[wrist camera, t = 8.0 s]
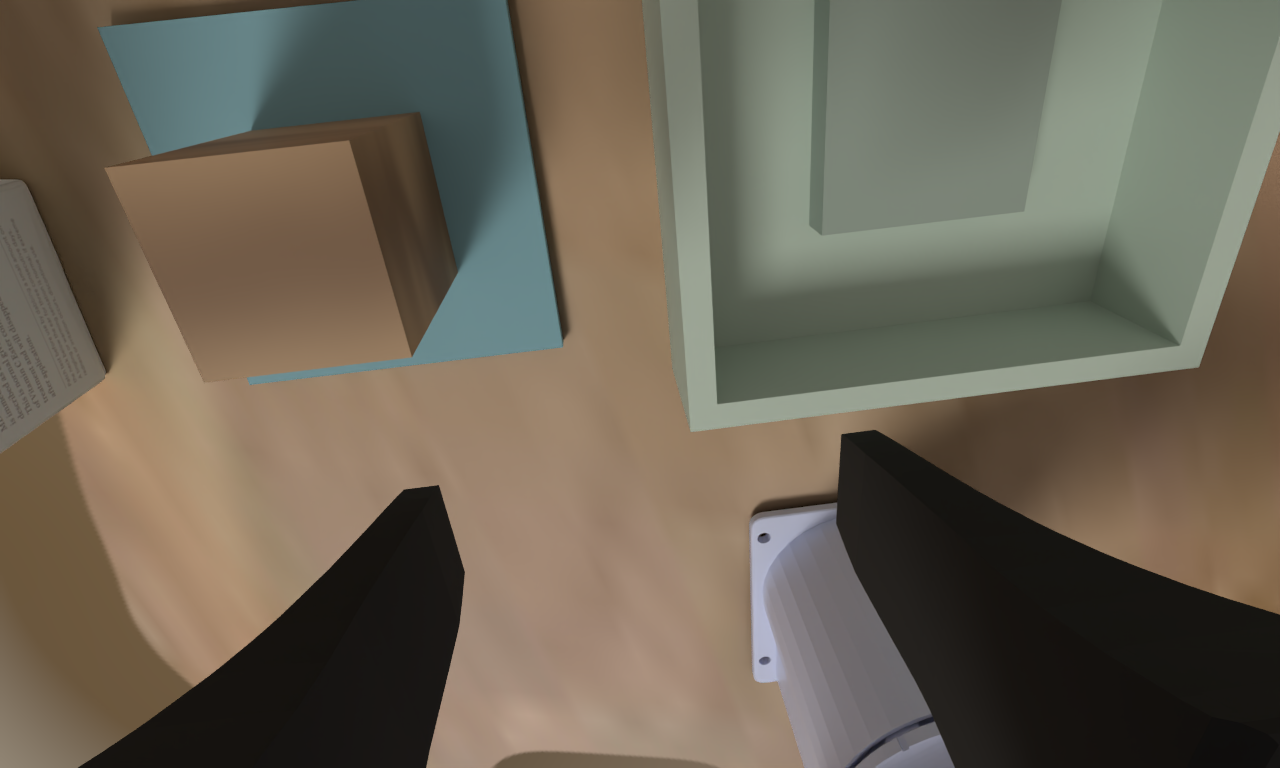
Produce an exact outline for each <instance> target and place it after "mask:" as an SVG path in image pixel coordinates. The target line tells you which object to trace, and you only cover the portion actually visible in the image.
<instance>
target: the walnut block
mask: <svg viewBox="0 0 1280 768" xmlns="http://www.w3.org/2000/svg"><path fill="white" fill-rule="evenodd" d="M104 169H105V171H106V173H107V175H108V177H109V179H110V181H111V184H112V186H113V188H114V190H115V192H116V194H117V196H118V199H119V201H120V203H121V205H122V207H123V209H124V211H125V214H126V216H127V218H128V220H129V222H130V224H131V226H132V229H133V231H134V233H135V235H136V237H137V239H138V242H139V244H140V246H141V248H142V250H143V252H144V254H145V257H146V259H147V261H148V263H149V265H150V267H151V269H152V272H153V274H154V276H155V278H156V280H157V282H158V284H159V287H160V289H161V291H162V293H163V295H164V297H165V299H166V302H167V304H168V306H169V308H170V310H171V312H172V314H173V317H174V319H175V321H176V323H177V325H178V327H179V329H180V332H181V334H182V336H183V338H184V340H185V342H186V344H187V347H188V349H189V351H190V353H191V355H192V357H193V360H194V362H195V364H196V366H197V368H198V370H199V372H200V375H201V377H202V379H203V381H204V383H205V382H213V381H222V380H230V379H238V378H246V377H255V376H263V375H271V374H279V373H288V372H296V371H304V370H312V369H320V368H329V367H337V366H345V365H353V364H362V363H370V362H378V361H386V360H395V359H403V358H411V357H412V356H413V355H414V353H415V351H416V349H417V347H418V345H419V344H420V342H421V340H422V338H423V336H424V334H425V333H426V331H427V329H428V327H429V325H430V323H431V322H432V320H433V318H434V316H435V314H436V312H437V311H438V309H439V307H440V305H441V303H442V301H443V300H444V298H445V296H446V294H447V292H448V290H449V288H450V287H451V285H452V283H453V281H454V279H455V277H456V276H457V274H458V270H457V266H456V262H455V258H454V254H453V249H452V245H451V241H450V237H449V233H448V228H447V224H446V220H445V216H444V211H443V207H442V203H441V199H440V195H439V190H438V186H437V182H436V178H435V173H434V169H433V165H432V161H431V157H430V152H429V148H428V144H427V140H426V135H425V131H424V127H423V123H422V119H421V114H420V112H414V113H405V114H396V115H387V116H378V117H369V118H360V119H351V120H342V121H333V122H324V123H315V124H306V125H297V126H288V127H279V128H270V129H261V130H252V131H248V132H244V133H240V134H236V135H232V136H228V137H224V138H220V139H216V140H212V141H208V142H204V143H200V144H196V145H192V146H189V147H185V148H181V149H177V150H173V151H169V152H165V153H161V154H157V155H153V156H149V157H145V158H141V159H137V160H133V161H129V162H126V163H122V164H118V165H114V166H110V167H106V168H104Z"/></svg>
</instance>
